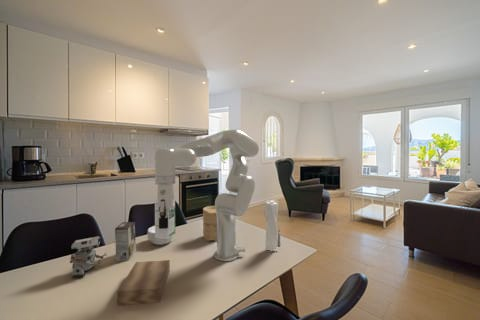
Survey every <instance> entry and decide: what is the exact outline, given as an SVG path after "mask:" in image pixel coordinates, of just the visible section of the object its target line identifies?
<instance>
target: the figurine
mask: <svg viewBox="0 0 480 320" xmlns="http://www.w3.org/2000/svg"><path fill="white" fill-rule="evenodd" d="M100 243H101V237H100V236H98V235H96V236H94V237H93V236H92V237H88V238H83V239H76V240H74V241H73V243H72V244H71V247H70V248H71V250H73V249H76V250H77V251H76V252H74V253H72V254H71V255H70V261H69V263H70V264H72V267H71V269H72V275H71V276H72V277H71V278H72V279H78V278H79V279H82V278H84V277H85V276H86V275H85V271H89V270H91V269H93V267H95V266H96V265H97V264H99V265H100V264H101V260H103V259H104V257H105V256H107V255H108V254H107V252H105V253H104V254H103V255H100V254H96V253H97V251H96V249H95V248H98V247H99V246H100ZM95 259H99V260H98V261H97V262H95ZM100 259H101V260H100Z"/></svg>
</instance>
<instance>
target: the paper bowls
mask: <svg viewBox="0 0 480 320" xmlns="http://www.w3.org/2000/svg"><path fill="white" fill-rule="evenodd" d="M175 237H176V234H175V235H173V236H172V237H170V238H169V239H159V238H155V225H152V226H151V227H149V228H147V240H148V241H150V242H151V243H152V244H154V245H157V246H162V245H166V244H169V243H170V242H171V241H172V239H174V238H175Z"/></svg>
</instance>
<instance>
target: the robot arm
mask: <svg viewBox="0 0 480 320" xmlns="http://www.w3.org/2000/svg"><path fill="white" fill-rule="evenodd" d="M228 148H229V153H230V156H231V158H232V166H231V167H230V168H231V169H230V171H229V173H228V175H227V179H226V180H225V189H226V190H227V191H228V192H230V193H225V192H222V193H220V194H217V196H216V198H215V201H214V206H215V209H216V214H217V241H216V250H215V251H214V253H213V257H214V259H216V260H218V261H220V262H232V261H234V260H237V259H238V258H239V257H240V253H245V252H246V247H242V246H237V242H236V241H237V238H236V237H237V232H236V231H237V220H236V217H242V216H245V214H246V213H247V211H248V209H249V207H250V203H251V200H252V198H253V195H254V192H255V189H256V182H255V179H254V178H253V177H252V176H250V175H247V174H248V170H249V164H248V161H247V158H254V157H255V156H257V155H258V153H259V150H260V149H259V144H258V142H257V141H255V139H254V138H252V137H250V136H249V135H248V134H246V133H245V132H244V131H241V130H240V129H227V130H222V131H218V132H217V133H214V134H211V135H209V136H205V137H203V138H200V139H199V138H198V139H197V140H193V141H190V142H186V143H182V144H180V145H177V146H174V147H172V148H165V147H163V148H162V147H159V148H157V149H155V153H154V175H155V176H154V185H157V197H156V198H157V200H156V201H157V206H158V210H159V211H160V213H159V229H167V228H168V218H167V211H168V210H169V211H170V210H171V209H172V208H173V201H172V200H173V199H175V198H174V197H175V194H174V185H175V184H176V167H183V168H185V167H190V166H193V165H194V164H195V162H196V160H197V158H200V157H209V156H213V155H216V154H217V153H219V152H221V151H224V150H225V149H228ZM232 193H234V194H232ZM159 207H160V208H159ZM164 208H166V209H164ZM165 212H166V213H165ZM165 214H166V215H165Z"/></svg>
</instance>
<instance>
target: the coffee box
mask: <svg viewBox="0 0 480 320" xmlns="http://www.w3.org/2000/svg"><path fill="white" fill-rule="evenodd" d="M114 235H115V236H114V237H115V261H116V262H117V261H122V262H124V261H130V260H131V258H132V257H133V256H134V255H135V254H136V252H137V244H136V221H133V222H131V221H123V222H121V223H120V224H118V226H116V227H115V229H114Z"/></svg>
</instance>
